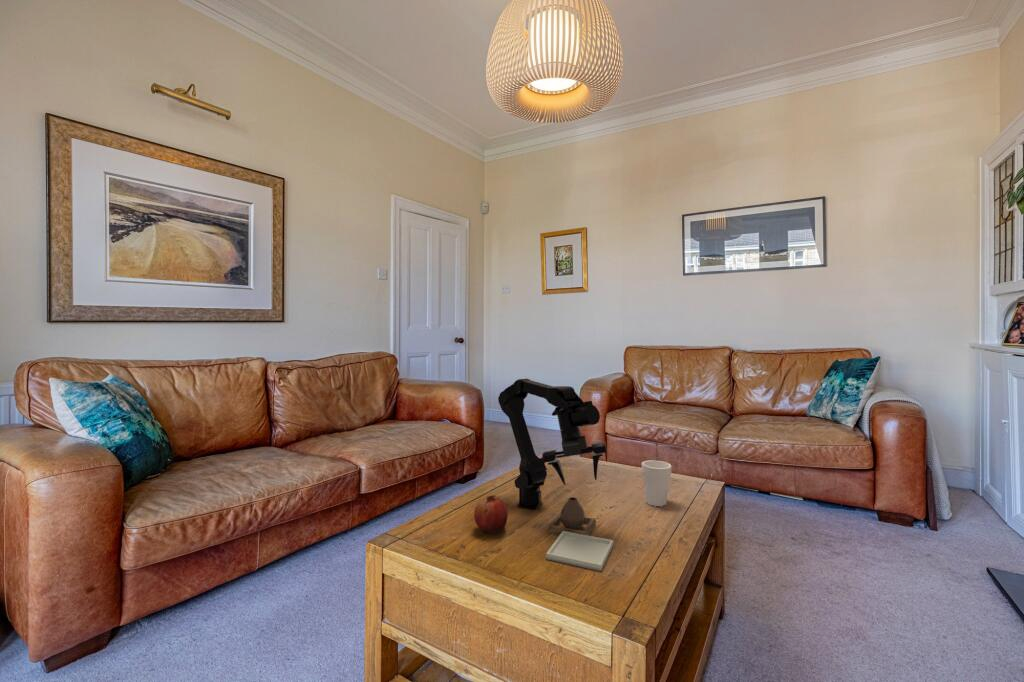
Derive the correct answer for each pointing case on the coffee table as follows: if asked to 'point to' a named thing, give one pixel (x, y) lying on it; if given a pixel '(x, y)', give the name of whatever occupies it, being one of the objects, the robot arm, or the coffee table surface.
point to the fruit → (491, 514)
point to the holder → (558, 530)
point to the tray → (580, 550)
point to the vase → (572, 514)
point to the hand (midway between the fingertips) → (580, 482)
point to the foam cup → (656, 481)
